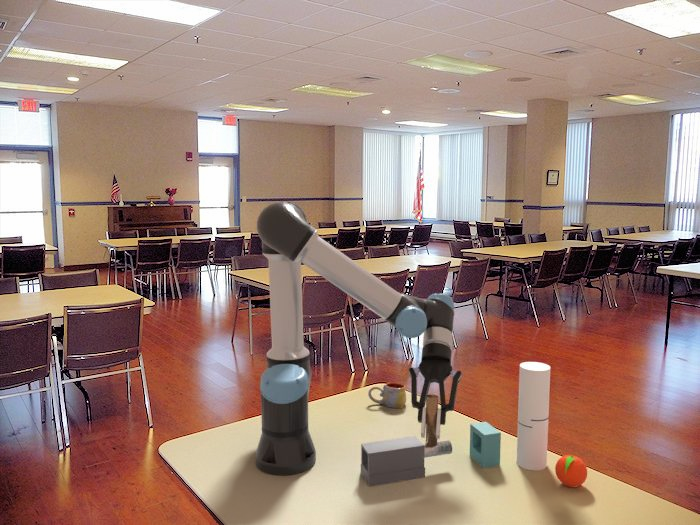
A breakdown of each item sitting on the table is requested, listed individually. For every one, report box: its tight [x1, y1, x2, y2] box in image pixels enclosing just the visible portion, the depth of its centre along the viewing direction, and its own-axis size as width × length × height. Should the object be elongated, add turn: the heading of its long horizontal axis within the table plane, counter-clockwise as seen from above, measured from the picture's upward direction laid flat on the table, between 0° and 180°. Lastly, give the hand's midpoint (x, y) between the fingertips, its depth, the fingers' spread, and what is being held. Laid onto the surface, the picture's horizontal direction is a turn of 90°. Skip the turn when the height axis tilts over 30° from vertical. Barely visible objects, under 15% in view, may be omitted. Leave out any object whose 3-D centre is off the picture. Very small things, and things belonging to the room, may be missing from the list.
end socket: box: [469, 421, 502, 469], centre depth 144 cm, size 7×4×8 cm, turn 17°
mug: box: [367, 382, 407, 409], centre depth 183 cm, size 12×7×7 cm, turn 81°
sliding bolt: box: [423, 394, 453, 459], centre depth 138 cm, size 3×18×15 cm, turn 107°
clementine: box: [554, 454, 588, 488], centre depth 132 cm, size 8×7×7 cm
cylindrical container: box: [516, 361, 551, 472], centre depth 142 cm, size 7×7×25 cm
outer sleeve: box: [360, 435, 426, 487], centre depth 137 cm, size 6×14×8 cm, turn 107°
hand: (430, 436), depth 136 cm, fingers closed on sliding bolt, 3 cm apart
